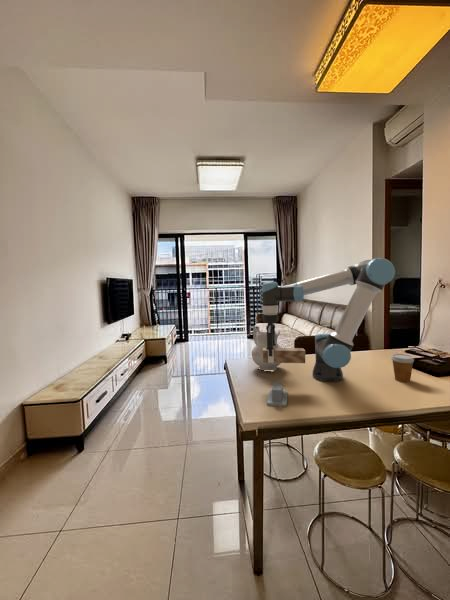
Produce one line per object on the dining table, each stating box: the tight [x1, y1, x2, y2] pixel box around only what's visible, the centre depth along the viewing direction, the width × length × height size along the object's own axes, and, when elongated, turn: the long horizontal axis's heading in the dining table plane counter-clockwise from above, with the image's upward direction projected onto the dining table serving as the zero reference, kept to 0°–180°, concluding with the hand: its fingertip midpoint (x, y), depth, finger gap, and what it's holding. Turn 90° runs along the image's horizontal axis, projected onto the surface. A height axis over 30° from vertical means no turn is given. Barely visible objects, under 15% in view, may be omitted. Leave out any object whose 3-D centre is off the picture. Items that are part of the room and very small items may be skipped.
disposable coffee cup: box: [391, 353, 415, 383], centre depth 133 cm, size 10×10×12 cm
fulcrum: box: [266, 380, 288, 408], centre depth 118 cm, size 8×14×6 cm, turn 165°
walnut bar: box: [263, 347, 306, 364], centre depth 131 cm, size 20×5×6 cm, turn 83°
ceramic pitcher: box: [251, 325, 282, 371], centre depth 159 cm, size 22×20×25 cm
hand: (271, 360), depth 132 cm, fingers closed on walnut bar, 5 cm apart
